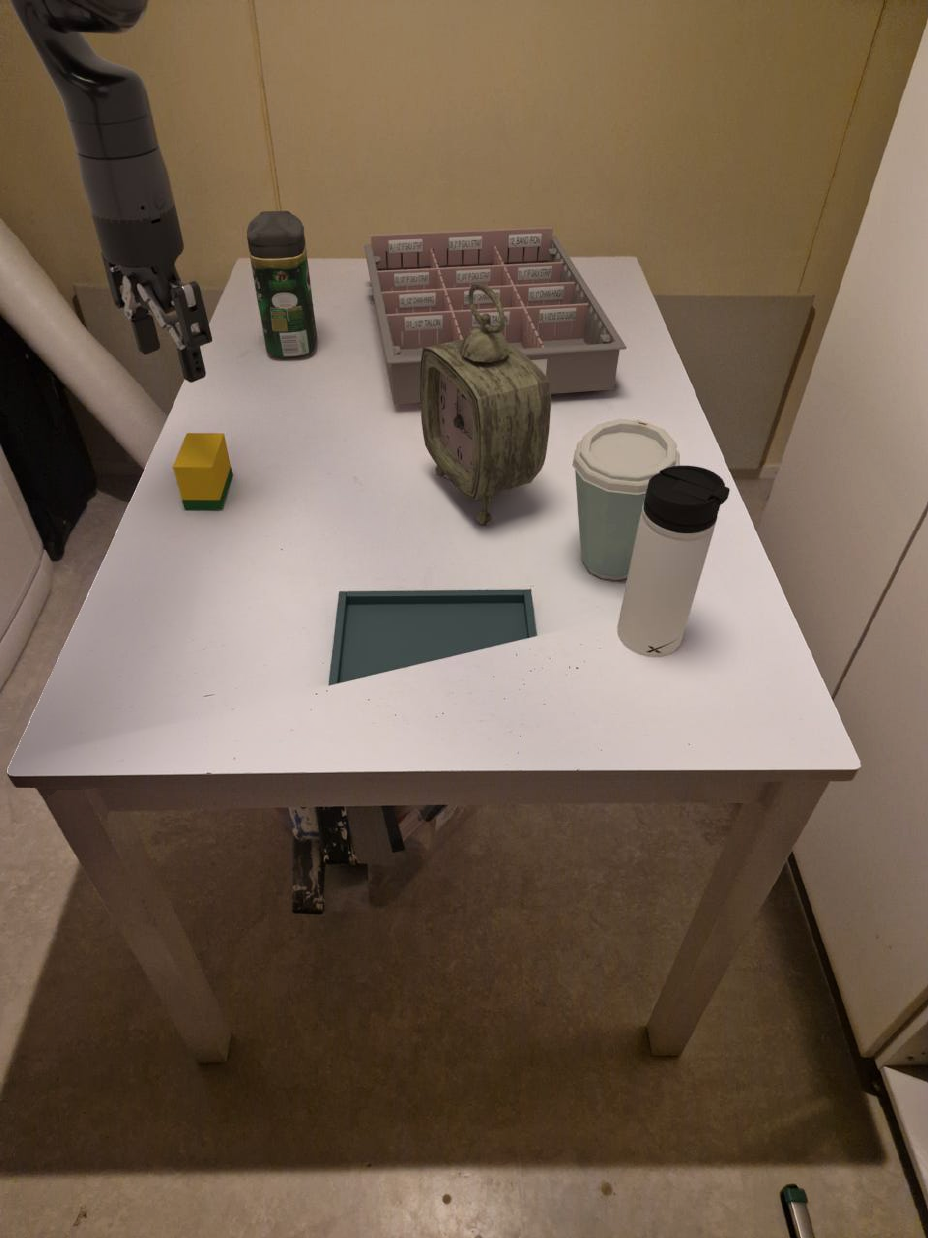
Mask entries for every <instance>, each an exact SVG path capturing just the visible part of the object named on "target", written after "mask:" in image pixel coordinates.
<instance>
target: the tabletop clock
mask: <svg viewBox="0 0 928 1238" xmlns="http://www.w3.org/2000/svg"><path fill="white" fill-rule="evenodd" d="M477 289H479V290H481V291H483V292H484V293H485V294H487V295H488V296H489V297H490V298H491V299H492V301H493V302H494V304H495V306H496V308H497V311H498V313H499V317H500V325H499V327H494V326H492V325H491V316H490V315H489V314H483V315H482V316H481V315H480V314H479V312H478V311H477V309H476V307H475V305H474V303H473V293H474V291H475V290H477ZM468 297H469V305H470V308H471V311H472V314H473V316H474V317H475V319H476V321H477V322H478V323H479V324H480V325H481V326H480V328H476V329H473V330H472V331H471V332H470V333H469V334H468V335H467V336H466V337H465V338H464V339H461V340H457V341H452V342H448V343H443V344H439V345H435V346H430V347H426V348H423V352H422V357H421V369H420V402H421V403H420V416H421V418H420V419H421V428H422V436H423V441H424V446H425V448H426V450H427V452H428V454H429V455H430V457H431V458H432V461H433V462H434V463H435V464H436V466H435V468H434V472H435V474H436V476H438V477H442V478H443V477H446V479H447V480H448V481H450V482H451V483H452V485H453V486H454V487H455V488H457V490H458V491H460V493H462V495H464V496H465V497H466V498H468V499H469V500H472V501H477V500H479V499H483V502H482V510H481V511H480V512H478V513H477V515H476V521H477V522H478V524H480V525H481V526H482V525H483V526H487V525H488V524H490V523H491V522H492V521H491V520H492V515H491V513H490V512H489V511H488V510H489V507H490V503H491V498H492V496H494V495H496V494H500V493H503V492H505V491H506V492H507V491H509V490H512V489H516V488H519V487H522V486H526V485H528V484H531V483H532V482H533V481H534V479H536V477H537V476H538V475H539V474H540V472H542V469H543V468H544V465H545V461H546V457H547V453H548V452H547V450H548V445H549V438H550V437H549V436H550V427H551V414H552V413H551V411H552V394H551V390H550V382H549V381H548V379H547V377H546V376H545V374H544V373H543V372H542V370H541V369H540V368H539V367H537V366H536V365H535V364H534V363H533V362H532V361H531V360H530V359H529V358H528V357H527V356H526V355H525V354H523V353H522V352H521V351H519V350H518V349H516V348H515V347H514V346H512V345H511V344H509V343H508V342H506V340H505V338H504V336H503V334H502V333H500V332H501V331H502V330H503V328H504V324H505V317H504V310H503V307H502V304H501V302H500V300H499V298H498V296H497V295H496V294H495V293H494V291H493V290H492V289H490V288H489V287H488V286H486V285H485V284H482V283H475V284H473V285H472V286H471V288H470V290H469V296H468Z"/></svg>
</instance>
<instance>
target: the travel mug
mask: <svg viewBox="0 0 928 1238" xmlns="http://www.w3.org/2000/svg"><path fill="white" fill-rule="evenodd" d="M730 491H731V489H730V487H727V486H726V483H725V481H724V479H723V478H722V476H720V475H719V474H717V473H716V472H715V471H712V470H710V469H707V468H704V467H701V466H697V465H696V466H695V465H683V464H682V465H681V464H680V466H672V467H667V468H665V469H663V470H661V471H660V473H658V474H655V475H654V476H653V477H651V479H650V480H649V483H648V487H647V491H646V497H645V499H644V503H643V506H642V511H641V515H640V520H639V525H638V530H637V535H636V539H635V544H634V549H633V554H632V559H631V564H630V568H629V573H628V578H626V583H625V588H624V592H623V598H622V603H621V608H620V611H619V616H618V622H617V626H616V632H617V636H618V639H619V640H620V642H621V643H622V644H623V646H625V647H626V648H627V649H628V650H630V651H632V652H633V653H635V654H638V655H641V656H645V657H652V658H659V657H666V656H668V655H671V654H673V653H674V652H675V651H677V650H678V649H679V648H680V646H681V645H682V642H683V639H684V634H685V631H686V628H687V624H688V620H689V618H690V614H691V611H692V608H693V603H694V601H695V597H696V593H697V590H698V586H699V583H700V580H701V576H702V573H703V569H704V566H705V562H706V559H707V555H708V553H709V548H710V545H711V541H712V539H713V535H714V531H715V528H716V525H717V521H718V517H719V511H720V508H721V505H723V504H724V503H726V502H727V500H728V499H729V495H730Z"/></svg>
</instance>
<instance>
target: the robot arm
mask: <svg viewBox="0 0 928 1238" xmlns="http://www.w3.org/2000/svg"><path fill="white" fill-rule="evenodd" d="M149 1H150V0H9V3H10V5H11V7H12V9H13V10H14V13H15V15H16V17H17V18H18V20H19V22H20V25H21V26H22V28H23V30H24V31H25V33H26V35H27V37H28V38H29V40H30V42H31V44H32V46H33V48H34V50H35V51H36V53H37V55H38V57H39V59H40V61H41V63H42V65H43V67H44V69H45V70H46V72H47V75H48V76H49V78H50V80H51V83H52V85H53V86H54V87H55V90H56V92H57V93H58V96H59V98H60V100H61V103H62V106H63V109H64V114H65V117H66V120H67V123H68V128H69V131H70V135H71V137H72V141H73V145H74V148H75V153H76V156H77V161H78V169H79V175H80V179H81V184H82V187H83V191H84V194H85V198H86V201H87V204H88V208H89V212H90V215H91V219H92V222H93V226H94V229H95V233H96V237H97V239H98V243H99V246H100V250H101V252H100V255H101V259H102V263H103V267H104V270H105V273H106V278H107V281H108V285H109V289H110V293H111V297H112V301H113V304H114V306H115V307H116V309H118V310H119V309H123V313H124V316H125V317H126V319H127V320H129V321H130V324H131V328H132V331H133V334H134V338H135V341H136V342H135V343H136V345H137V348H138V349H137V350H138V351H139V353H141V354H143V355H149V354H152V353H154V352H157V351H159V350H160V348H161V343H160V339H159V336H158V331H157V327H156V324H155V320H154V317H155V319H156V321H157V323H158V324H159V327H161V329H163V330H166V331H168V333H169V335H170V336H171V338H172V340H173V342H174V344H175V346H176V352H177V356H178V359H179V360H178V361H179V364H180V368H181V372H182V376H183V379H184V380H185V381H187V382H188V383H190V384H191V383H195V382H198V381H200V380H203V379H204V378H205V377H206V375H207V372H206V368H205V362H204V358H203V355H202V353H203V352H202V350H201V347H203V346H205V345H207V344H210V343H212V342H213V336H212V332H211V328H210V323H209V319H208V315H207V310H206V307H205V302H204V299H203V295H202V290H201V286H200V285H199V283H198V282H197V281H195V280H193V281H190V282H184V281H182V279H181V277H180V275H179V273H178V270H177V268H176V262H177V260H178V258H179V257H180V256H181V255H182V253H183V252H184V249H185V245H184V239H183V233H182V229H181V226H180V225H181V224H180V221H179V217H178V212H177V207H176V204H175V202H176V201H175V198H174V193H173V189H172V184H171V179H170V175H169V171H168V168H167V165H166V162H165V159H164V157H163V154H162V150H161V147H160V143H159V138H158V133H157V129H156V124H155V120H154V115H153V111H152V107H151V102H150V97H149V94H148V89H147V87H146V83H145V81H144V79H143V78H142V76H141V75H140V74H139V73H138V72H137V71H135V70H134V69H132V68H130V67H128V66H125V65H122V64H119V63H116V62H113V61H111V60H109V59H106V58H104V57H102V56H100V55H99V54H98V53H97V52H96V51H95V50H94V49H93V47H92V46H91V44H90V43H89V41H88V39H87V38H86V37H85V35H84V33H86V34H104V35H105V34H106V35H119V34H120V35H121V34H125V33H129V32H131V31H133V30H134V29H136V27H138V26H139V25H140V24H141V22H142V21H143V19H144V18H145V16H146V13H147V10H148V7H149V3H150V2H149ZM121 286H123V289H122V292H121ZM174 312H175V314H173V315H168V314H170V313H174ZM151 313H152V314H153V315H151ZM178 325H179V328H180V330H179V328H178Z"/></svg>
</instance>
